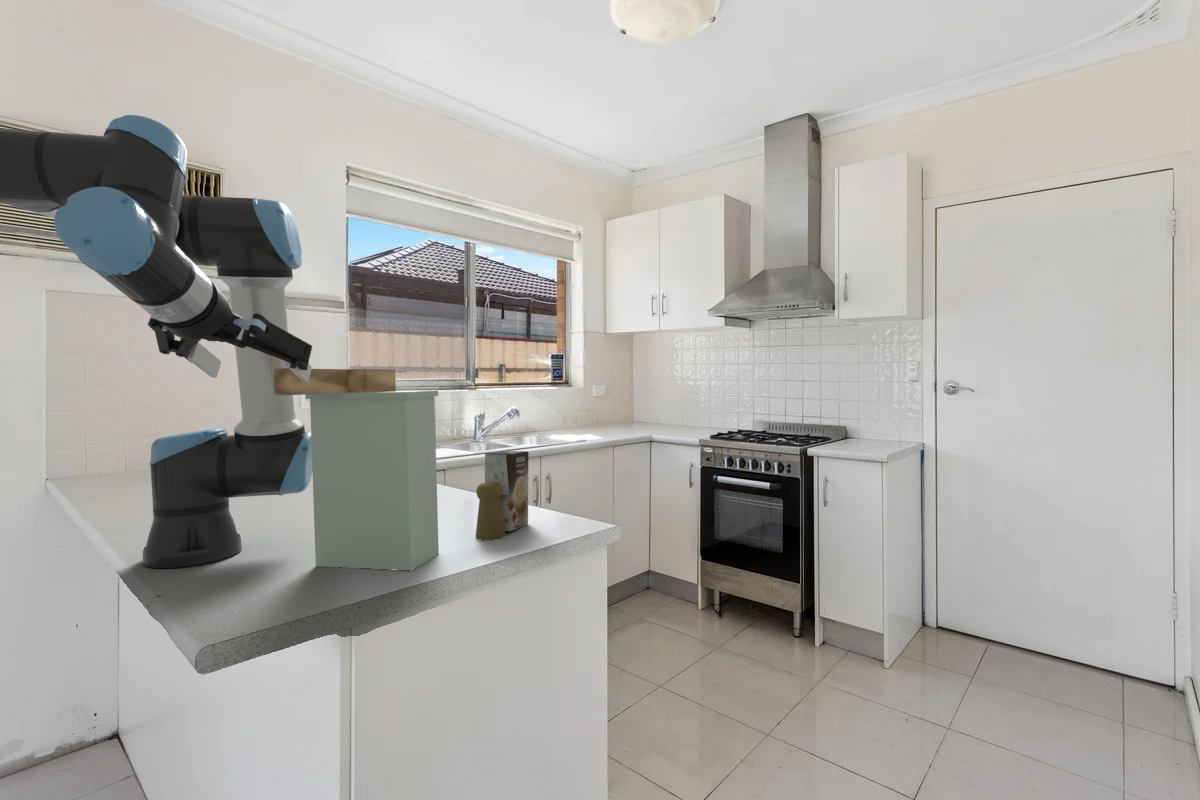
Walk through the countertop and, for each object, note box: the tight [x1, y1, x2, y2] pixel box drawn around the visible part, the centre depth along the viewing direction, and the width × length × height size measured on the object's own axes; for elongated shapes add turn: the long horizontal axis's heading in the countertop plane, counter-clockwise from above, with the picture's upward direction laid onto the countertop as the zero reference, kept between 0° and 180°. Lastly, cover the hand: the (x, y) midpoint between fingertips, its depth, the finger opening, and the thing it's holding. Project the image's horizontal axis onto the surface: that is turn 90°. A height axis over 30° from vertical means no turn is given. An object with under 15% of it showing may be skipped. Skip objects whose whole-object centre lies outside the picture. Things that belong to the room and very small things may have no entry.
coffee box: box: [484, 450, 529, 532], centre depth 127 cm, size 9×6×16 cm
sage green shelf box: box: [304, 390, 440, 571], centre depth 105 cm, size 19×11×30 cm, turn 79°
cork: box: [475, 482, 506, 541], centre depth 120 cm, size 6×6×11 cm
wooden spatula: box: [274, 368, 397, 396], centre depth 100 cm, size 10×22×4 cm, turn 167°
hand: (262, 372), depth 91 cm, fingers open, 13 cm apart
